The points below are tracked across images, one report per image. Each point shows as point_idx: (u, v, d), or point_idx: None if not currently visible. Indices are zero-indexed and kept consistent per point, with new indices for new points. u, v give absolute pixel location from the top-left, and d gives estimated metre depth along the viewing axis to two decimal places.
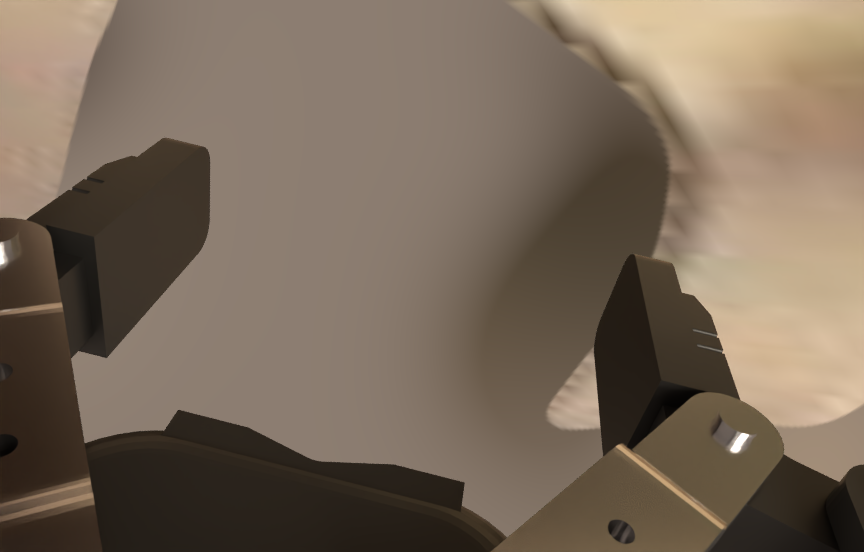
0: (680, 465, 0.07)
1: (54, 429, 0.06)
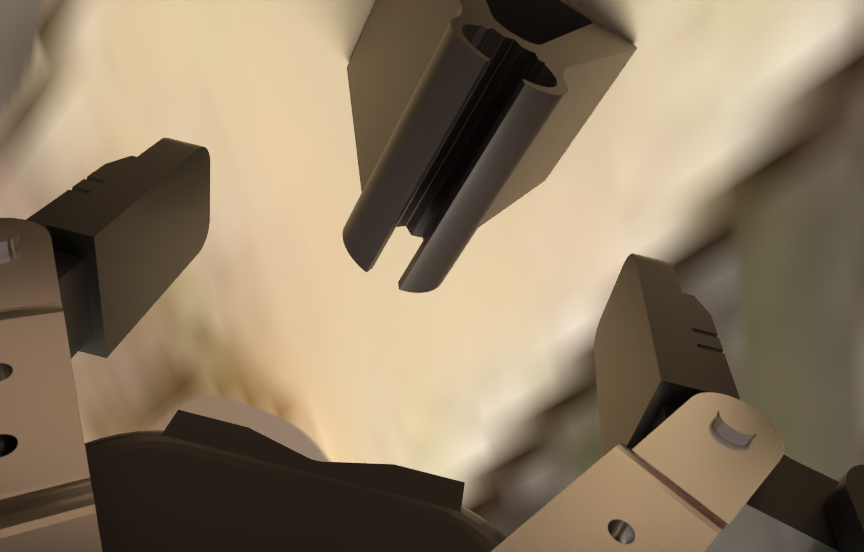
0: (680, 465, 0.07)
1: (54, 429, 0.06)
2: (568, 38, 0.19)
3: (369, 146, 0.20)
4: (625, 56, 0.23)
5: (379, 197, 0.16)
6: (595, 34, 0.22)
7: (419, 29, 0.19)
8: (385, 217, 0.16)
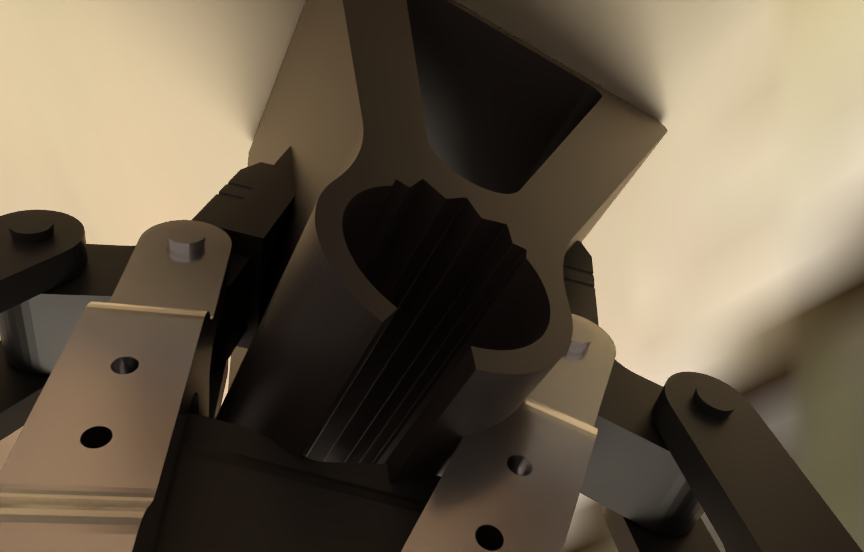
0: None
1: (147, 434, 0.06)
2: (568, 150, 0.11)
3: None
4: None
5: None
6: (608, 122, 0.14)
7: (312, 144, 0.11)
8: None
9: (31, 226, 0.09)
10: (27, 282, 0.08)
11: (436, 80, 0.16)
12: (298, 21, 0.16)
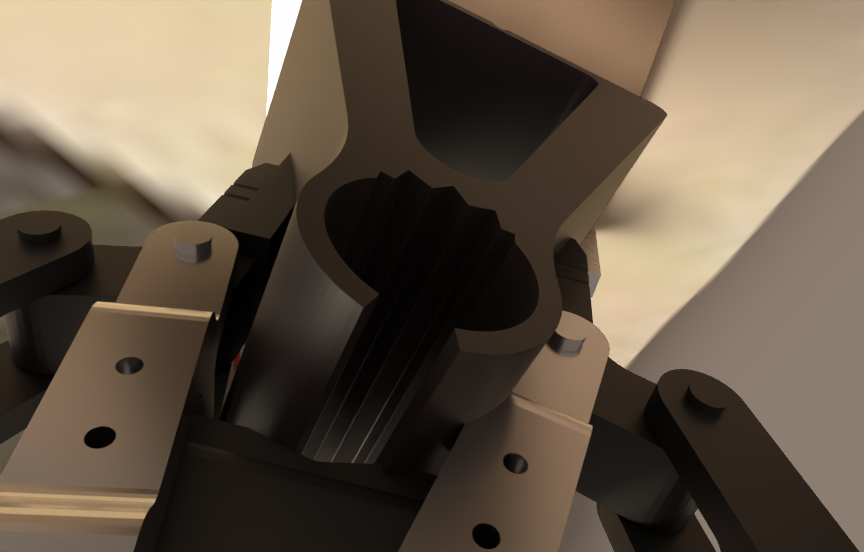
0: None
1: (150, 435, 0.06)
2: (561, 137, 0.11)
3: None
4: (652, 133, 0.15)
5: None
6: (604, 109, 0.14)
7: (305, 145, 0.11)
8: None
9: (39, 226, 0.09)
10: (35, 283, 0.08)
11: (432, 78, 0.16)
12: None
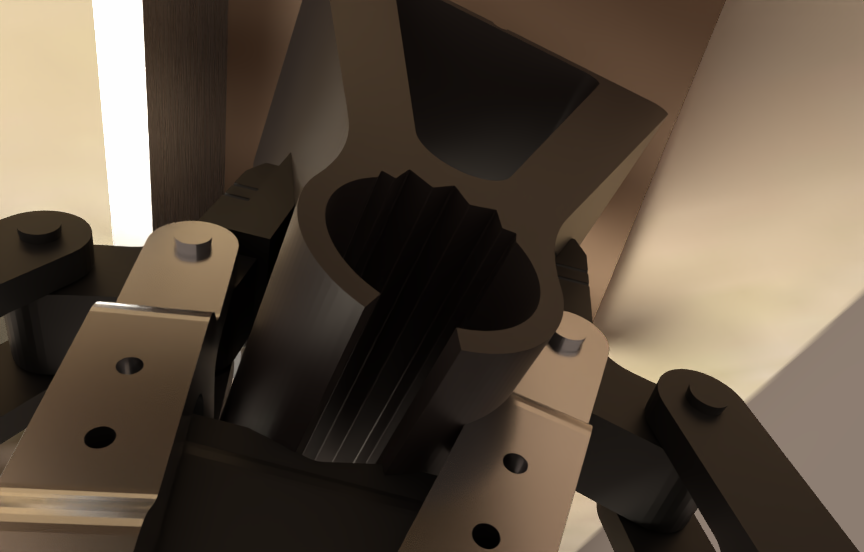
0: None
1: (150, 435, 0.06)
2: (562, 137, 0.11)
3: None
4: (653, 132, 0.15)
5: None
6: (605, 108, 0.14)
7: (307, 145, 0.11)
8: None
9: (39, 226, 0.09)
10: (35, 283, 0.08)
11: (433, 78, 0.16)
12: (293, 29, 0.16)
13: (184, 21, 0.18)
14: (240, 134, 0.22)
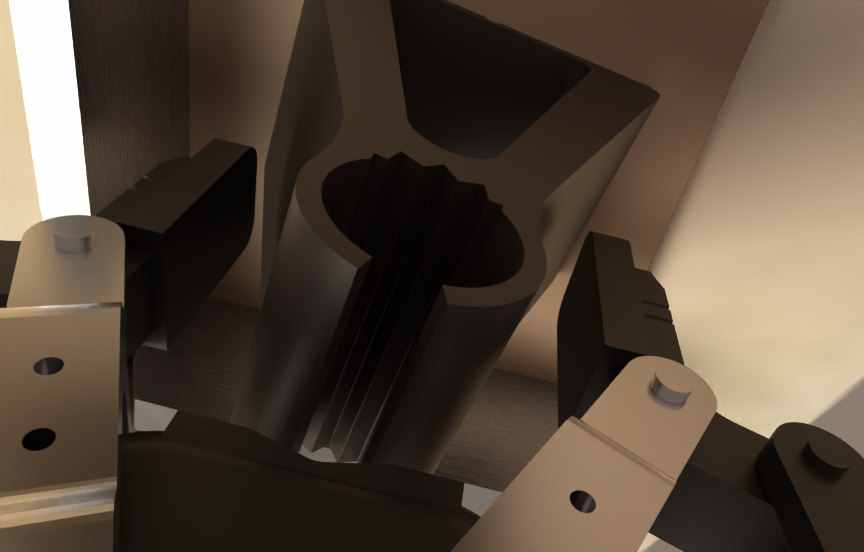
0: (613, 419, 0.08)
1: (92, 428, 0.06)
2: (551, 119, 0.12)
3: None
4: (645, 113, 0.15)
5: None
6: (596, 92, 0.14)
7: (309, 139, 0.12)
8: None
9: None
10: None
11: (431, 74, 0.17)
12: (295, 36, 0.17)
13: (131, 48, 0.15)
14: None
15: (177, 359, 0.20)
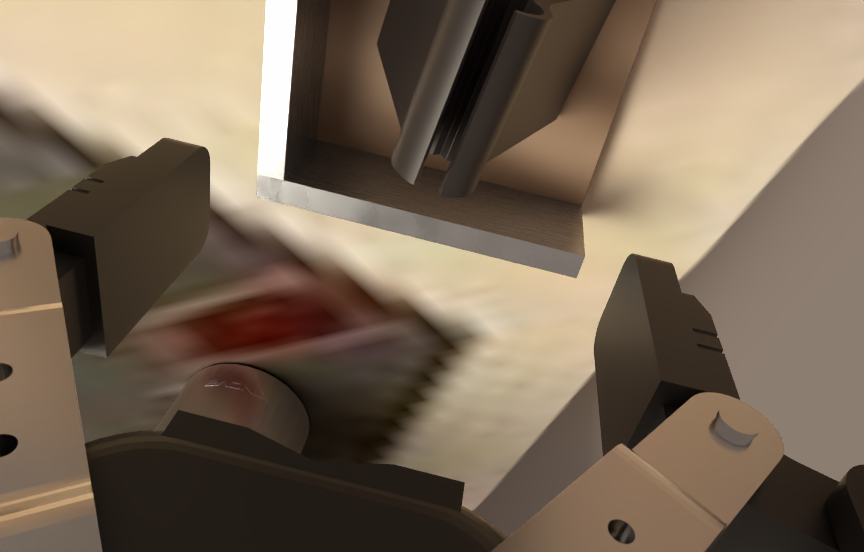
0: (680, 465, 0.07)
1: (54, 429, 0.06)
2: None
3: (403, 96, 0.24)
4: None
5: (417, 122, 0.20)
6: None
7: None
8: (423, 137, 0.20)
9: None
10: None
11: None
12: None
13: None
14: (336, 48, 0.31)
15: (318, 169, 0.31)
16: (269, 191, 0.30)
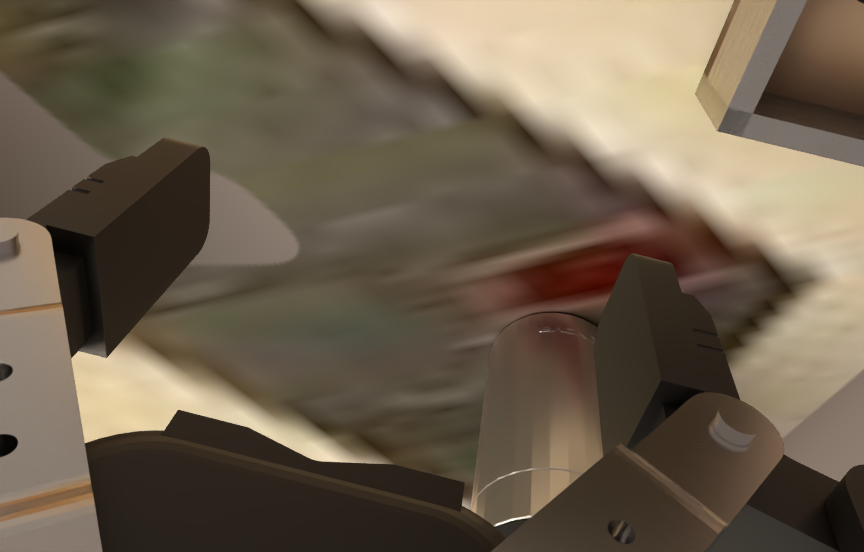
0: (680, 465, 0.07)
1: (54, 429, 0.06)
2: None
3: None
4: None
5: None
6: None
7: None
8: None
9: None
10: None
11: None
12: None
13: None
14: None
15: (764, 106, 0.33)
16: (733, 124, 0.32)
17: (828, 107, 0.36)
